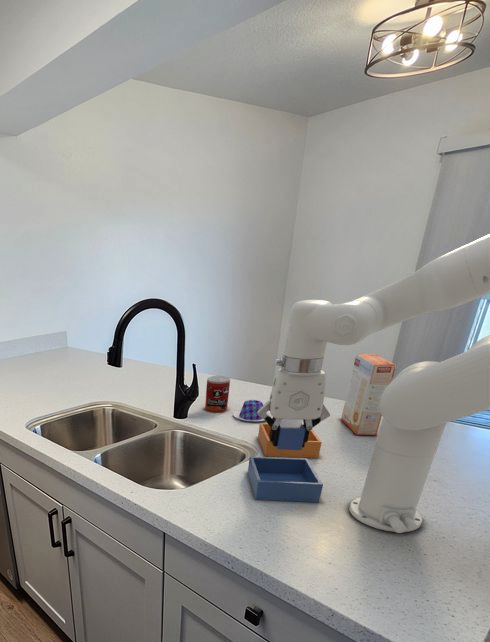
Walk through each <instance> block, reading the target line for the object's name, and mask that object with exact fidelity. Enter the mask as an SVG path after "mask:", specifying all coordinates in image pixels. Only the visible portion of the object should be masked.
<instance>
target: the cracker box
mask: <svg viewBox="0 0 490 642" xmlns="http://www.w3.org/2000/svg"><path fill="white" fill-rule="evenodd" d="M396 367H397V364H396V363H394V362H392V361H390V360H388V359H387V358H384V357H382V356H380V355H378V354H375V353H358V354H355V358H354V363H353V366H352V372H351V375H350V380H349V384H348V388H347V391H346V392H347V393H346V397H345V401H344V405H343V409H342V412H341V413H342V414H341V418H340V420H341V421H342V422H343V423H344V424H345V425H346V426H348V428H349V429H350V430H351V431H352V432H353V433H354V434H355V435H357V436H358V435H360V436H377V435H378V432H379V429H380V425H381V424H380V423H381V420H382V418H383V416H382V414H381V412H380V399H381V396H382V394H383V392H384V390H385V389H386V387H387V386H388V385H389V384H390V383H391V381H392V380H393V379H394V375H395V371H396Z"/></svg>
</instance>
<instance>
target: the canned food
mask: <svg viewBox="0 0 490 642" xmlns="http://www.w3.org/2000/svg"><path fill="white" fill-rule="evenodd" d="M206 379H207V380H206V387H205V389H206V390H205V401H204V402H205V403H204V408H205V410H206V411H207V412H211V413H223V412H225V411H227V409H228V403H229V396H230V388H231V387H230V385H231V378H230V377H228V376H224V375H213V376H209V377H207V378H206Z"/></svg>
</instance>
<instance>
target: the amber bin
mask: <svg viewBox="0 0 490 642" xmlns="http://www.w3.org/2000/svg"><path fill="white" fill-rule="evenodd" d="M270 429H271V427H270V426H269V424H268V423H266V422H265V423H263V422H261V423H259V428H258V433H257V434H258V435H257V439H258V442H259V444H260V446H261V449H262V451H263V454H264V457H275V458H307V459H309V458H311V459H318V458H320V452H321V447H322V441H321V439H320V438H319V436H318V435H317V433H316V432H315V431H314V428H313V429H312V430H311V431H310V432H309V437H308V441H307V442H305V446H304V447H302V450H281V449H277V447H276V446H273V444H272V442H271V441H270V440H269V436H270Z"/></svg>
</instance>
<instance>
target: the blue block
mask: <svg viewBox="0 0 490 642" xmlns="http://www.w3.org/2000/svg"><path fill="white" fill-rule="evenodd" d="M278 427H279V428H278V429H279V437H278V443H277V446H276V447H277V449H281V450H302V445H303V440H304V435H305V430H306V429H305V428H304V426H303V425H302V423H301V422H300V421H281V422H280V424H279V426H278Z"/></svg>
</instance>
